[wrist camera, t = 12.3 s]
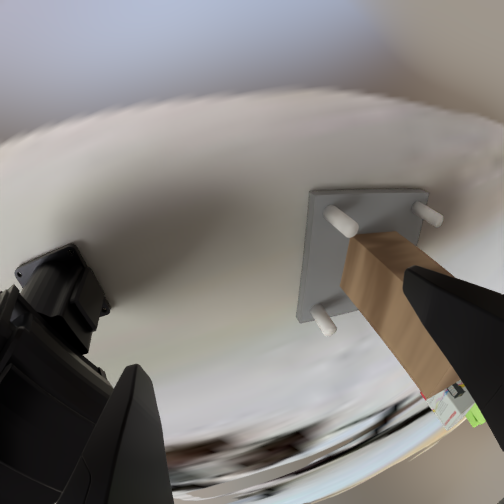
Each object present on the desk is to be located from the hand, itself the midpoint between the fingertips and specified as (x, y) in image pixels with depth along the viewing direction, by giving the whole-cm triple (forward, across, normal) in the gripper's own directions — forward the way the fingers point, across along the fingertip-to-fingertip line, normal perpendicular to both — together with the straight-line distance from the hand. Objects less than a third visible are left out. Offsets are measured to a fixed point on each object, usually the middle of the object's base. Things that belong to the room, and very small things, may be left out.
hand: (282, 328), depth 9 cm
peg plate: (+13, -11, +9) cm, 19 cm away
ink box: (+13, -31, +48) cm, 59 cm away
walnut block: (+12, -11, +9) cm, 19 cm away
